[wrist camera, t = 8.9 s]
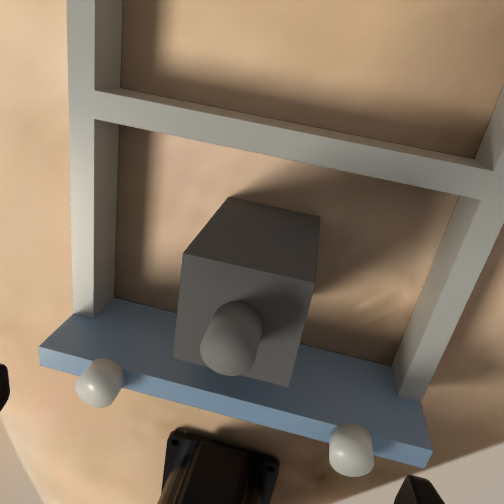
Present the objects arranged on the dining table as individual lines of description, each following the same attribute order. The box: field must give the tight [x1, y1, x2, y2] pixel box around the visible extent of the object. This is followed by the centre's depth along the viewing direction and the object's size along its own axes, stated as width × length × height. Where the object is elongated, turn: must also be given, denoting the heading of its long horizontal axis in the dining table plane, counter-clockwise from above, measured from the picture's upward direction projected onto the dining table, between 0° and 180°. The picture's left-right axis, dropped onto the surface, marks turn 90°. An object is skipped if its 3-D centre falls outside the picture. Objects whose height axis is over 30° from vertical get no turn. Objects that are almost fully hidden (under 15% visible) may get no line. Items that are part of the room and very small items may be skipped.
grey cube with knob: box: [173, 197, 320, 387], centre depth 15 cm, size 4×4×8 cm
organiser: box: [39, 0, 504, 477], centre depth 14 cm, size 22×16×6 cm
